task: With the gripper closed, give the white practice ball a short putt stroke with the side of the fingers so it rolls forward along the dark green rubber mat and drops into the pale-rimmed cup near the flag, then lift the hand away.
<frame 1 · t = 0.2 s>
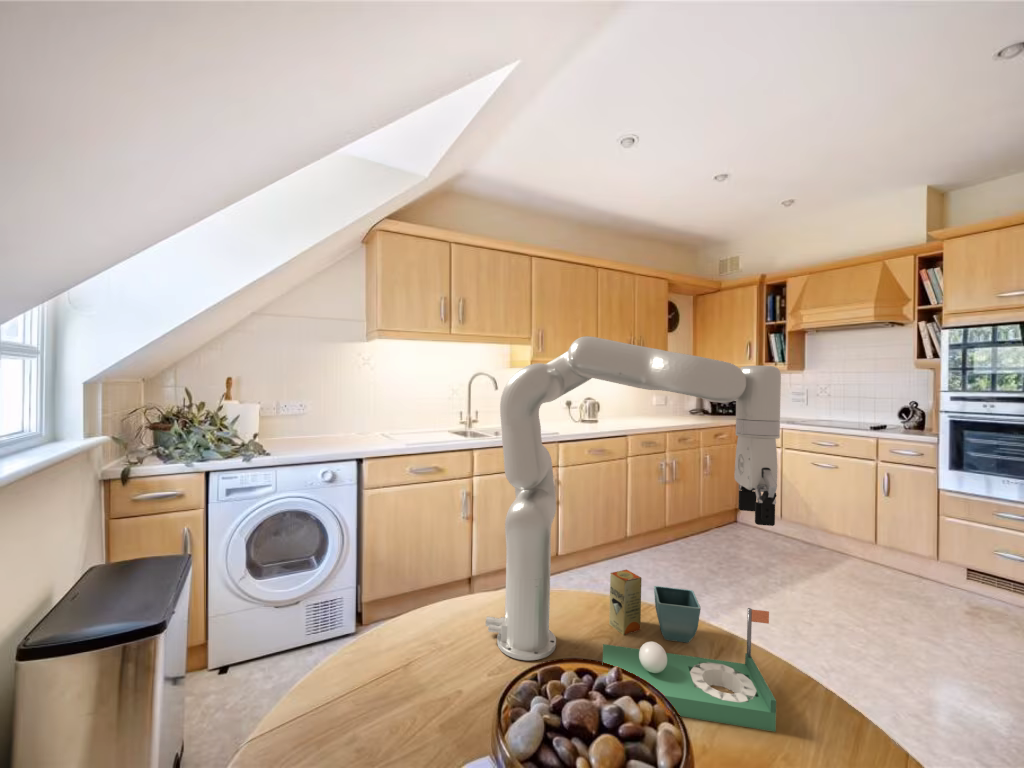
hand: (755, 517, 86), 31 cm above the table, fingers open, 9 cm apart
flag: (748, 683, 83), resting on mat
shoe polish box: (624, 628, 102), on the table
ball: (652, 657, 82), point 5 cm above the table, touching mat
flower pot: (675, 637, 99), on the table
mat: (680, 691, 81), on the table
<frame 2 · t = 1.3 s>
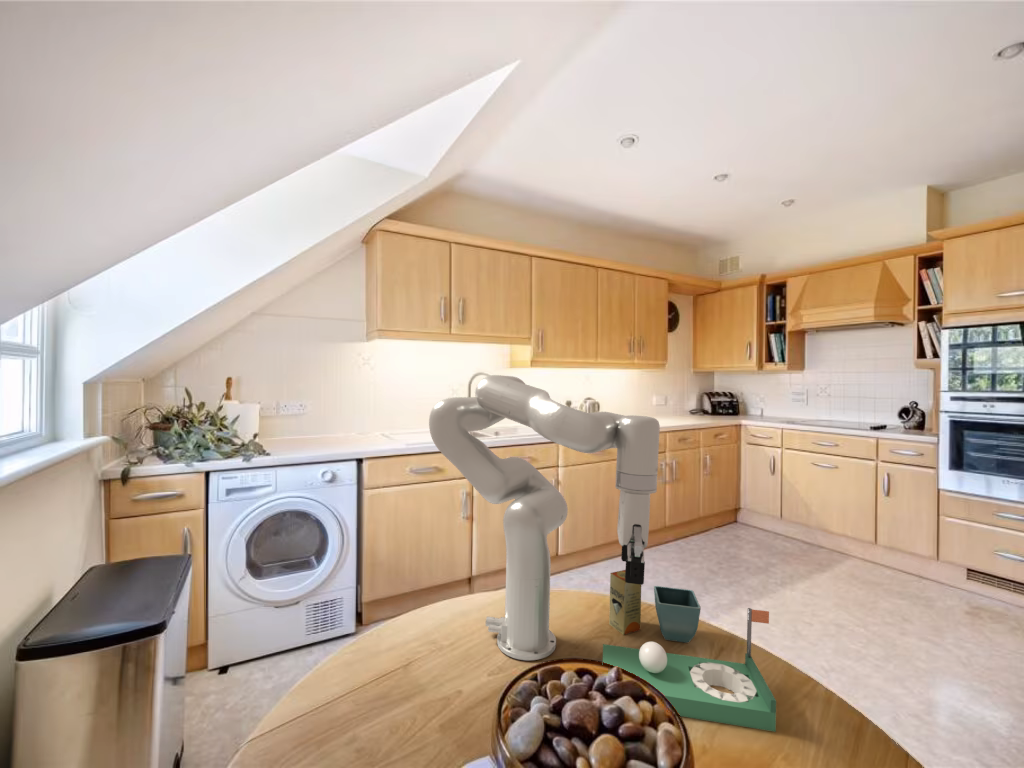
hand: (631, 571, 83), 21 cm above the table, fingers open, 9 cm apart
nothing on the table moved.
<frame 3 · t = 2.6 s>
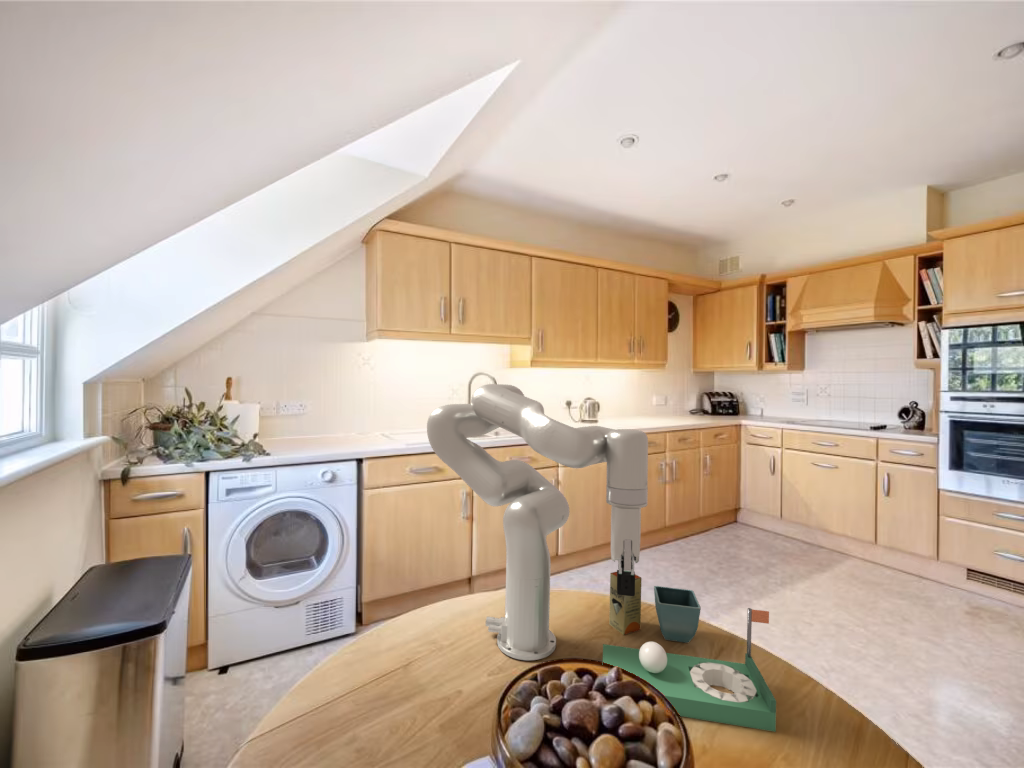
hand: (625, 593, 83), 17 cm above the table, fingers closed
nothing on the table moved.
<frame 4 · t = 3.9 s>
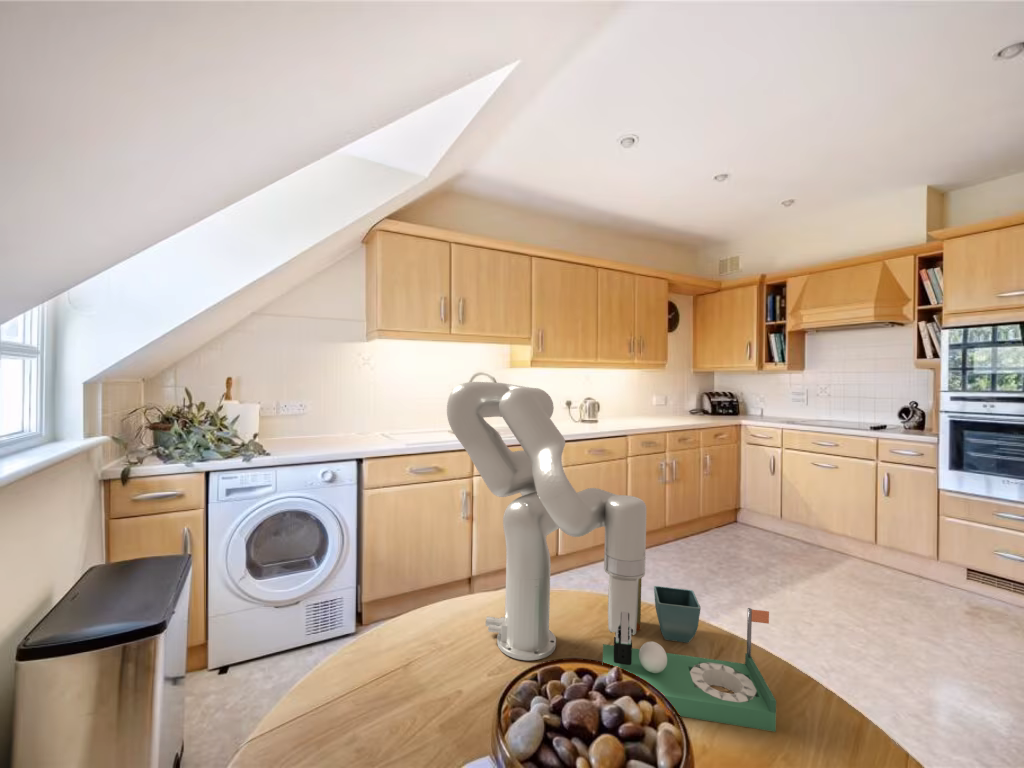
hand: (622, 661, 83), 4 cm above the table, fingers closed
nothing on the table moved.
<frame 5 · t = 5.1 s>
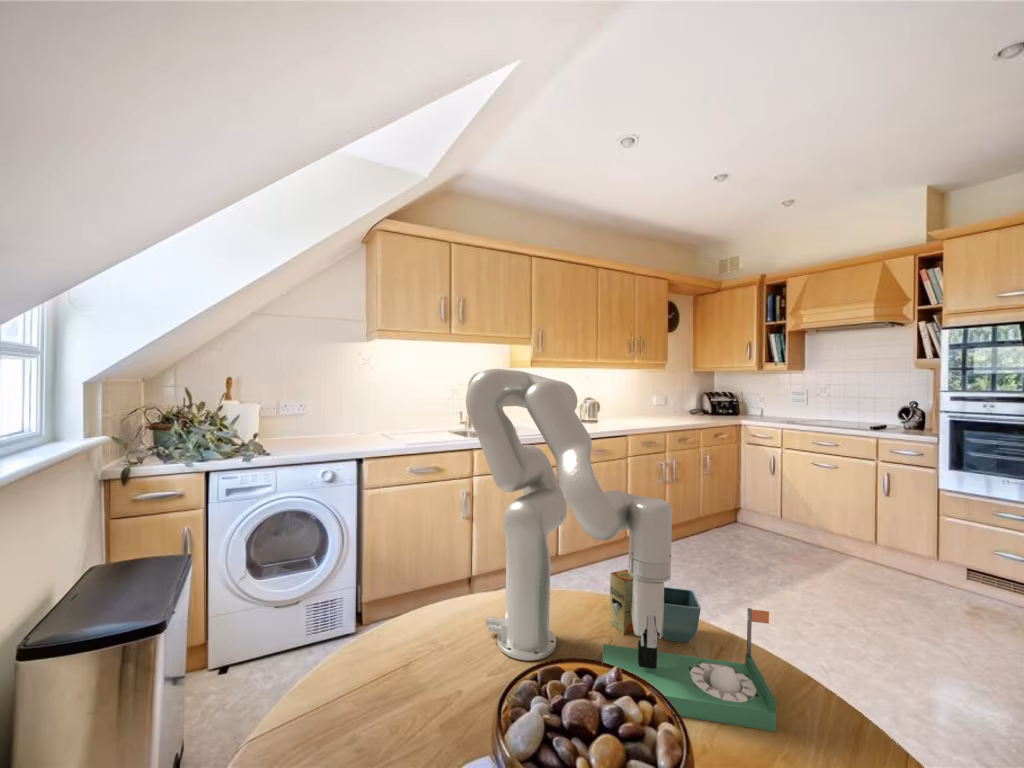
hand: (647, 665, 82), 4 cm above the table, fingers closed
ball: (725, 683, 79), point 2 cm above the table, tilted 74°
everything else where it was.
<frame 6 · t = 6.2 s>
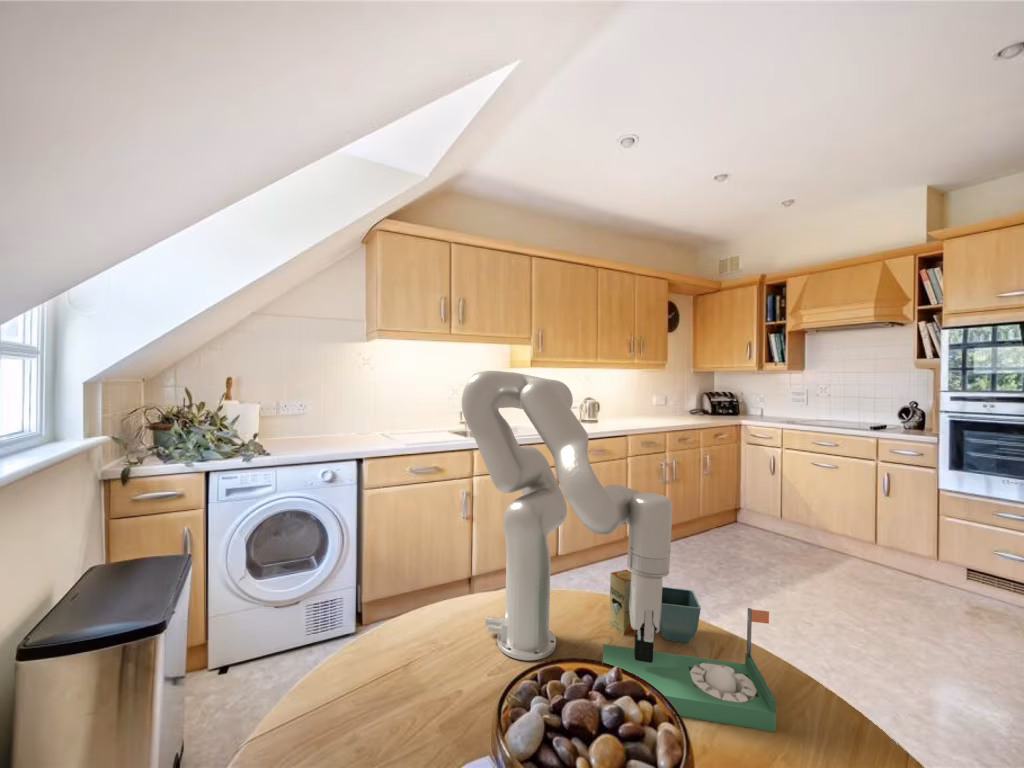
hand: (643, 658, 82), 5 cm above the table, fingers closed
ball: (720, 682, 79), point 2 cm above the table, tilted 92°
everything else where it was.
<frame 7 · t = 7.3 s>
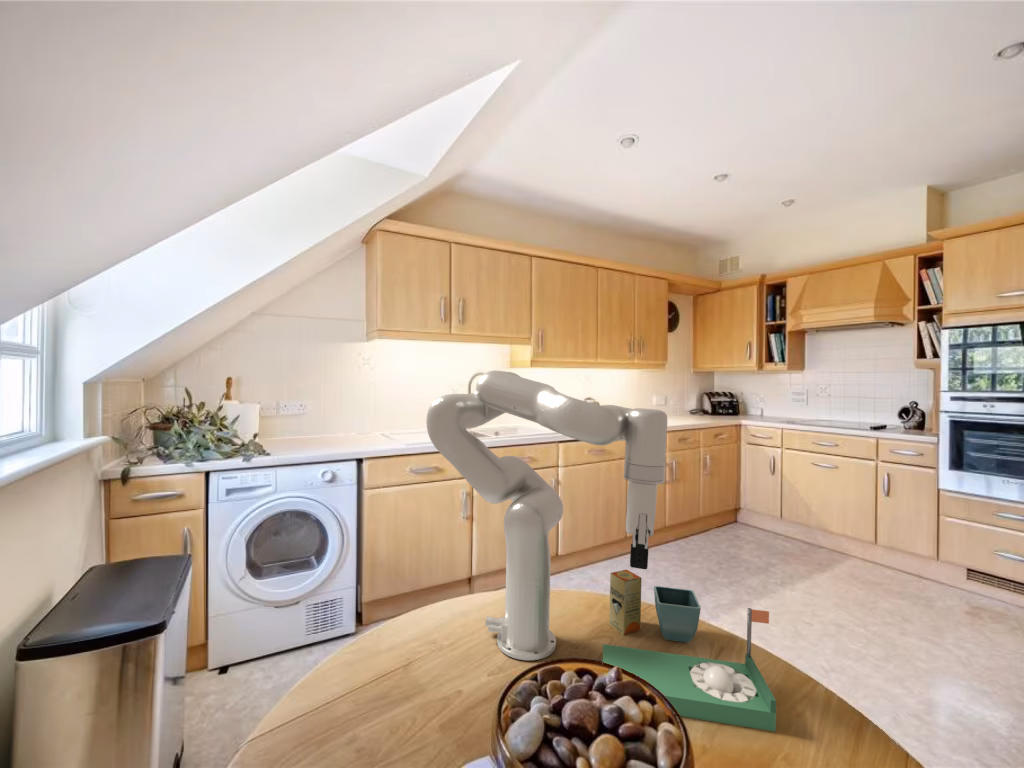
hand: (638, 566, 85), 21 cm above the table, fingers closed
ball: (717, 682, 80), point 2 cm above the table, tilted 102°
everything else where it was.
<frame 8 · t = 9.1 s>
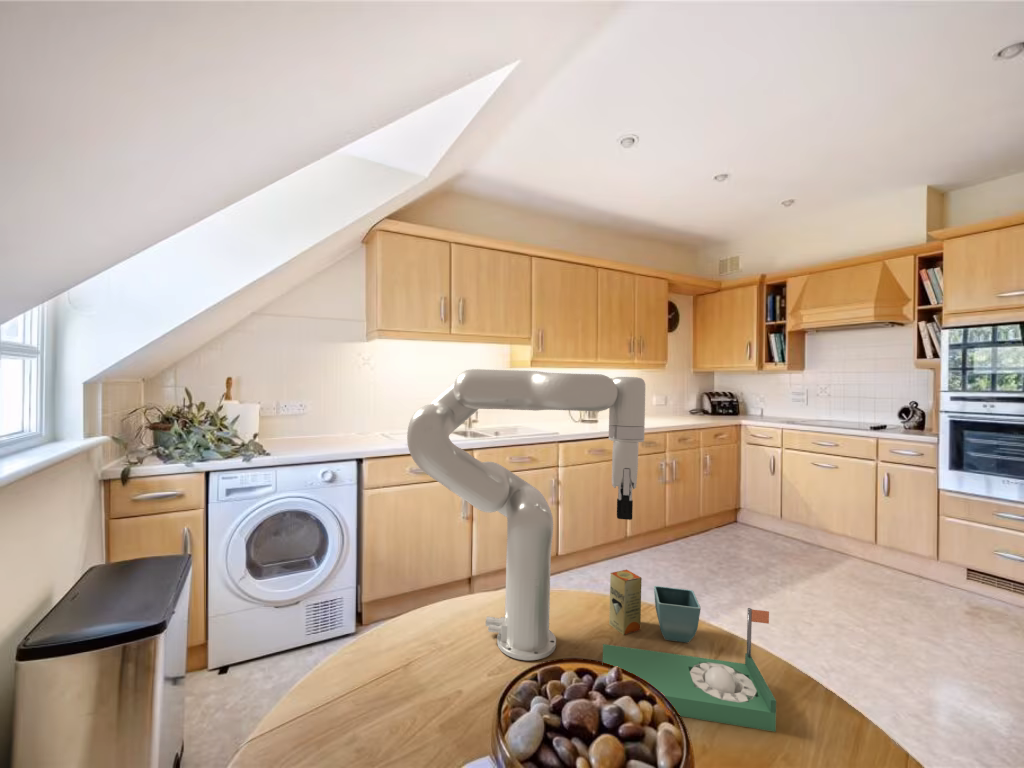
hand: (624, 518, 96), 27 cm above the table, fingers closed
ball: (719, 682, 79), point 2 cm above the table, tilted 95°
everything else where it was.
at the end: ball 0.4 cm from the target spot on the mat, point 2.5 cm above the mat's base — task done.
